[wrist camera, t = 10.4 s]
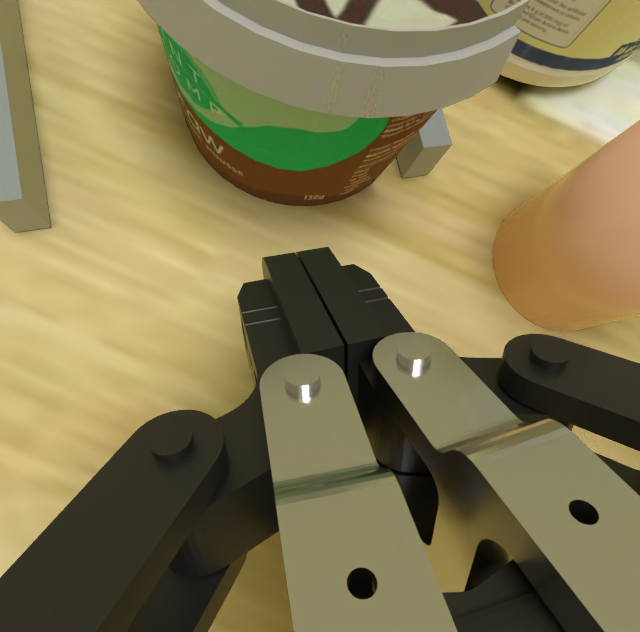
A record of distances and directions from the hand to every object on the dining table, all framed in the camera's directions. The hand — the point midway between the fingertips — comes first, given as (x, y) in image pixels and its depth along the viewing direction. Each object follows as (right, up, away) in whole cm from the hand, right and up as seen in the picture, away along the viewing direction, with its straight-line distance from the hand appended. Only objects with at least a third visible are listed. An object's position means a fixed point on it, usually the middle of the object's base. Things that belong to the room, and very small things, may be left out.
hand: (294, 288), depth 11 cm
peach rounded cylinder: (+11, +2, +10) cm, 15 cm away
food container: (-2, +7, +9) cm, 11 cm away
